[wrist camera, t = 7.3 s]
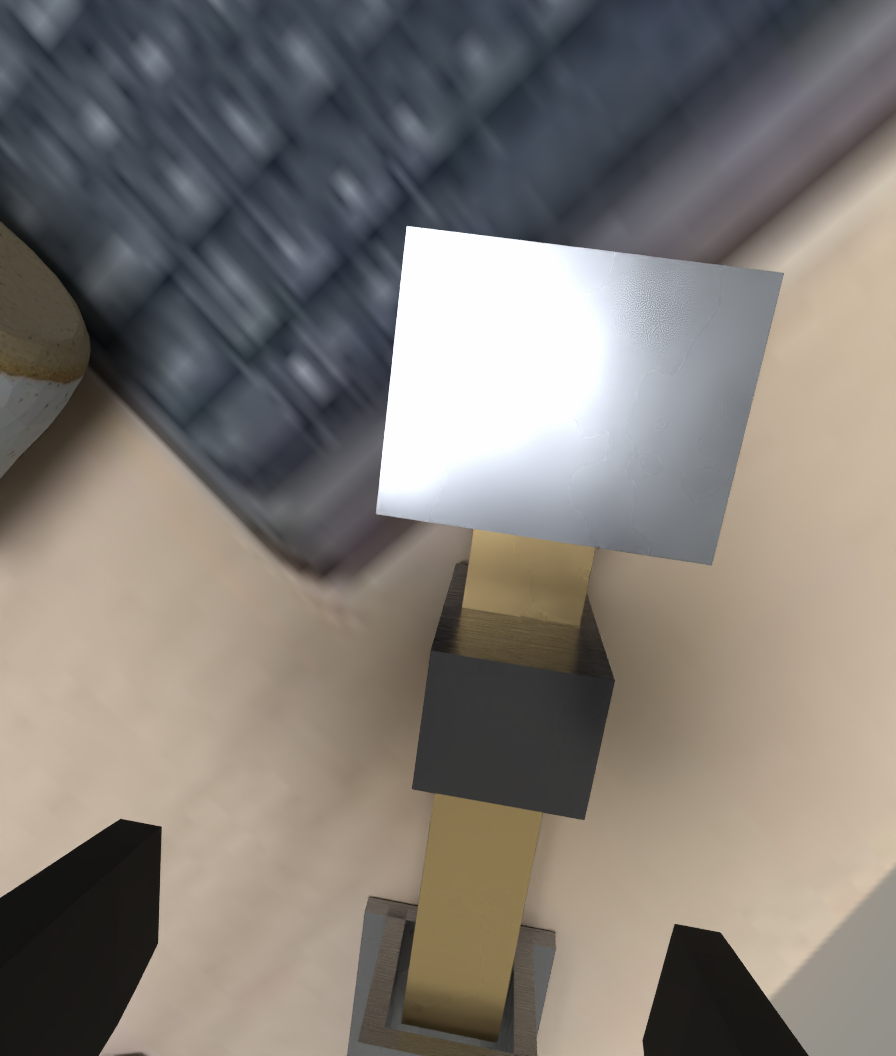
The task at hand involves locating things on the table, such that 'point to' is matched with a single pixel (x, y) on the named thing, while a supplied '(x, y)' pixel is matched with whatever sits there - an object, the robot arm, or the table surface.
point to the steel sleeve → (376, 1031)
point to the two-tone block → (499, 763)
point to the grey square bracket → (571, 392)
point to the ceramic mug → (34, 347)
